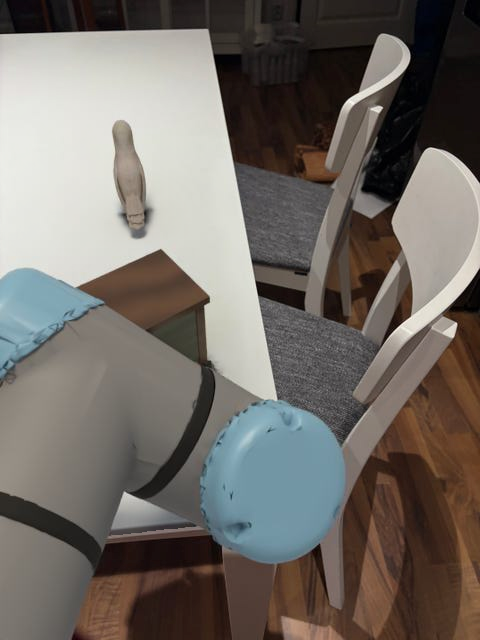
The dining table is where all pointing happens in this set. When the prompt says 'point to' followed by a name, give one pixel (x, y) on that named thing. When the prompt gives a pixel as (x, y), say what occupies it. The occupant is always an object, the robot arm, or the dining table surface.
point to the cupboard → (157, 301)
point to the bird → (129, 175)
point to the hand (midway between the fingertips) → (115, 411)
